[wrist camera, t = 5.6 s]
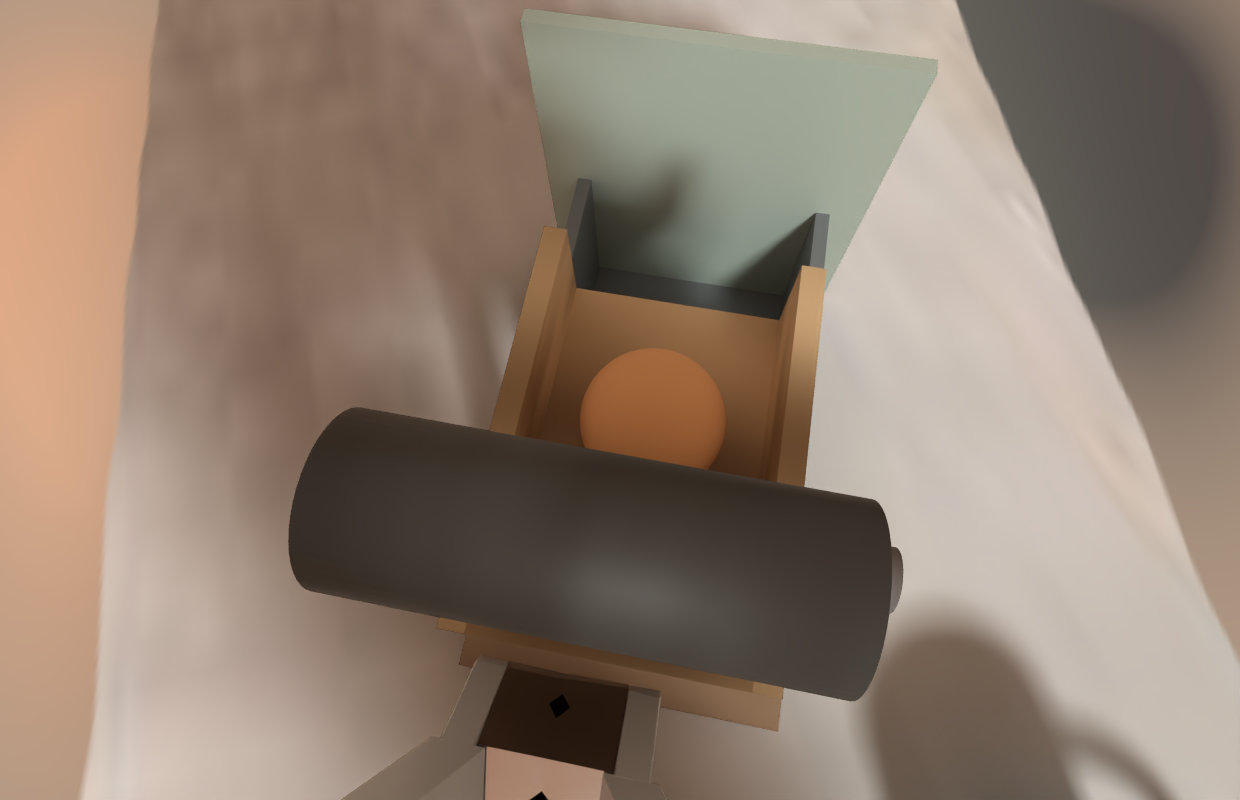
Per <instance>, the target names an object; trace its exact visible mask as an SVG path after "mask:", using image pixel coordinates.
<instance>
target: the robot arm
mask: <svg viewBox="0 0 1240 800" xmlns="http://www.w3.org/2000/svg"><path fill="white" fill-rule="evenodd" d="M628 691H629V693H628ZM627 697H628V699H627ZM626 704H627V705H626ZM660 704H661V692H660V691H658V690H653V689H648V688H642V687H637V686H632V685H630V688H629V685H628V684H623V683H617V682H612V681H607V680H601V679H596V678H591V677H585V676H580V675H575V674H566V673H561V672H557V671H552V670H548V669H544V668H539V667H535V666H530V665H526V664H522V663H517V662H513V661H506V660H502V659H497V658H493V657H488V656H484V655H480V657H479V658H478V659H477V660H476V661H475V663H474V665H473V667H472V669H471V672H470V674H469V676H468V678H467V680H466V683H465V685H464V687H463V689H462V691H461V694H460V696H459V698H458V700H457V702H456V705H455V707H454V709H453V711H452V713H451V716H450V718H449V720H448V722H447V724H446V727H445V729H444V731H443V733H442V735H441V738H437V737H430V738H428V739H427V740H426V741H424V742H423V743H421V744H420V745H418V746H417V747H416V748H414V749H413V750H411V751H410V752H408V753H407V754H406V755H404V756H403V757H401V758H400V759H398V760H397V761H396V762H394V763H393V764H391V765H390V766H388V767H387V768H386V769H384V770H383V771H381V772H380V773H378V774H377V775H376V776H374V777H373V778H371V779H370V780H368V781H367V782H366V783H364V784H363V785H361V786H360V787H358V788H357V789H356V790H354V791H353V792H351V793H350V794H348V795H347V796H346V797H344V798H343V799H341V800H668V799H667V797H666V795H665V793H664V791H663V789H662V787H661V785H658V784H654V783H651V780H652V772H653V763H654V755H655V746H656V738H657V730H658V721H659V713H660Z"/></svg>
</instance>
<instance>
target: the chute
mask: <svg viewBox="0 0 1240 800" xmlns="http://www.w3.org/2000/svg"><path fill="white" fill-rule="evenodd" d="M826 270H827V269H823V268H817V267H810V266H803V265H802V267H801V270H800V272H799V274H798V277H797V279H796V281H795V284H794V286H793V288H792V291H791V293H790V296H789V298H788V300H787V303H786V305H785V307H784V310H783V312H782V315H781V317H780V319H779V320H774V319H768V318H762V317H755V316H749V315H743V314H737V313H730V312H724V311H718V310H711V309H705V308H699V307H693V306H686V305H680V304H674V303H667V302H661V301H655V300H649V299H642V298H636V297H630V296H624V295H617V294H611V293H605V292H598V291H592V290H586V289H580V288H576V282H575V276H574V270H573V263H572V257H571V251H570V245H569V238H568V232H567V229H560V228H554V227H547V226H544V229H543V233H542V236H541V240H540V244H539V248H538V251H537V255H536V259H535V263H534V266H533V270H532V274H531V277H530V281H529V285H528V289H527V292H526V296H525V300H524V303H523V307H522V311H521V315H520V318H519V322H518V326H517V329H516V333H515V337H514V341H513V344H512V348H511V352H510V355H509V359H508V363H507V367H506V370H505V374H504V378H503V381H502V385H501V389H500V393H499V396H498V400H497V404H496V408H495V411H494V415H493V419H492V422H491V426H490V430H489V431H488V430H483V429H477V428H472V427H466V426H460V425H455V424H449V423H444V422H438V421H433V420H427V419H421V418H416V417H410V416H405V415H399V414H394V413H388V412H382V411H377V410H371V409H366V408H357V407H355V408H351V409H348V410H346V411H344V412H342V413H341V414H340V415H338V416H337V417H336V418H335V419H334V420H333V421H332V422H331V423H330V424H329V425H328V426H327V427H326V428H325V430H324V431H323V432H322V434H321V435H320V437H319V438H318V440H317V441H316V443H315V445H314V447H313V448H312V450H311V452H310V454H309V456H308V459H307V461H306V463H305V465H304V468H303V470H302V473H301V476H300V479H299V482H298V485H297V488H296V492H295V496H294V500H293V504H292V510H291V515H290V524H289V540H288V543H289V556H290V562H291V566H292V570H293V573H294V575H295V577H296V579H297V581H298V582H299V583H300V585H301V586H302V587H304V588H305V589H307V590H309V591H313V592H318V593H323V594H328V595H333V596H338V597H342V598H347V599H352V600H357V601H362V602H367V603H372V604H377V605H382V606H387V607H391V608H396V609H401V610H406V611H411V612H416V613H421V614H426V615H431V616H436V617H439V619H438V623H437V627H436V628H438V629H443V630H448V631H453V632H458V633H463V634H468V635H473V636H477V637H482V638H487V639H492V640H497V641H502V642H507V643H511V644H516V645H521V646H526V647H531V648H536V649H541V650H545V651H550V652H555V653H560V654H565V655H570V656H575V657H579V658H584V659H589V660H594V661H599V662H604V663H609V664H614V665H618V666H623V667H628V668H633V669H638V670H643V671H648V672H652V673H657V674H662V675H667V676H672V677H677V678H682V679H686V680H691V681H696V682H701V683H706V684H711V685H716V686H721V687H725V688H730V689H735V690H740V691H745V692H750V693H755V694H759V695H764V696H769V697H774V698H779V699H783V689H784V688H788V689H793V690H798V691H803V692H808V693H813V694H818V695H822V696H827V697H832V698H837V699H842V700H847V701H856V700H858V699H859V698H860V697H861V696H862V695H863V694H864V693H865V691H866V690H867V688H868V687H869V685H870V683H871V681H872V679H873V676H874V674H875V672H876V669H877V666H878V663H879V660H880V656H881V653H882V649H883V645H884V640H885V635H886V630H887V624H888V618H889V610H890V602H891V589H892V551H891V540H890V533H889V528H888V523H887V519H886V516H885V513H884V511H883V509H882V507H881V506H880V504H879V503H878V502H877V501H875V500H873V499H868V498H862V497H857V496H851V495H846V494H840V493H834V492H829V491H823V490H818V489H812V488H806V487H804V484H805V474H806V465H807V455H808V445H809V435H810V426H811V416H812V406H813V396H814V387H815V377H816V367H817V357H818V348H819V338H820V328H821V318H822V309H823V299H824V289H825V279H826ZM646 348H659V349H666V350H671V351H675V352H677V353H680V354H683V355H685V356H687V357H689V358H690V359H692V360H693V361H695V362H696V363H698V364H699V365H700V366H701V367H702V368H703V369H704V370H705V371H706V372H707V373H708V374H709V375H710V376H711V378H712V379H713V381H714V382H715V384H716V385H717V387H718V389H719V391H720V394H721V396H722V399H723V403H724V408H725V413H726V428H725V435H724V440H723V443H722V446H721V449H720V451H719V453H718V455H717V457H716V459H715V460H714V462H713V463H712V465H711V466H710V467H709V469H708V470H706V469H700V468H695V467H689V466H684V465H678V464H673V463H667V462H661V461H656V460H650V459H645V458H639V457H633V456H628V455H622V454H617V453H611V452H606V451H600V450H594V449H589V448H585V446H584V444H583V440H582V436H581V430H580V412H581V405H582V402H583V399H584V396H585V393H586V391H587V389H588V387H589V385H590V383H591V382H592V380H593V378H594V377H595V376H596V375H597V374H598V372H599V371H600V370H601V369H603V368H604V367H605V366H606V365H607V364H608V363H610V362H611V361H612V360H614V359H615V358H617V357H619V356H621V355H623V354H626V353H628V352H631V351H635V350H639V349H646Z"/></svg>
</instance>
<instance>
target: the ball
mask: <svg viewBox="0 0 1240 800" xmlns="http://www.w3.org/2000/svg"><path fill="white" fill-rule="evenodd" d="M725 428H726V413H725V408H724V403H723V399H722V396H721V394H720V391H719V389H718V387H717V385H716V384H715V382H714V381H713V379H712V378H711V376H710V375H709V374H708V373H707V372H706V371H705V370H704V369H703V368H702V367H701V366H700V365H699V364H698V363H696V362H695V361H693V360H692V359H690V358H689V357H687V356H685V355H683V354H680V353H677V352H675V351H671V350H666V349H659V348H646V349H639V350H635V351H631V352H628V353H626V354H623V355H621V356H619V357H617V358H615V359H614V360H612V361H611V362H610V363H608V364H607V365H606V366H605V367H604V368H603V369H601V370H600V371H599V372H598V374H597V375H596V376H595V377H594V378H593V380H592V382H591V383H590V385H589V387H588V389H587V391H586V393H585V396H584V399H583V402H582V405H581V412H580V430H581V436H582V440H583V444H584V446H585V448H589V449H594V450H600V451H606V452H611V453H617V454H622V455H628V456H633V457H639V458H645V459H650V460H656V461H661V462H667V463H673V464H678V465H684V466H689V467H695V468H700V469H706V470H708V469H709V467H710V466H711V465H712V463H713V462H714V460H715V459H716V457H717V455H718V453H719V451H720V449H721V446H722V443H723V440H724V435H725Z"/></svg>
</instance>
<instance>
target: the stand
mask: <svg viewBox="0 0 1240 800" xmlns="http://www.w3.org/2000/svg"><path fill="white" fill-rule="evenodd" d="M891 551H892V589H891V602H890V610H889V614H890V613H892V612H893V611H894V610H895V608H896V606H897V604H898V601H899V598H900V595H901V590H902V583H903V561H902V556H901V553H900V551H899V549H898V548H896V547H891ZM480 655H484V656H488V657H493V658H497V659H502V660H506V661H513V662H517V663H522V664H526V665H530V666H535V667H539V668H544V669H548V670H552V671H557V672H561V673H566V674H575V675H580V676H585V677H591V678H596V679H601V680H607V681H612V682H617V683H623V684H628V685H629V688H630V685H632V686H637V687H642V688H648V689H653V690H658V691H660V692H661V704H660V707H663V708H668V709H673V710H678V711H682V712H687V713H692V714H697V715H701V716H706V717H711V718H716V719H720V720H725V721H730V722H735V723H740V724H744V725H749V726H754V727H759V728H763V729H768V730H773V731H778V727H779V717H780V707H781V699H779V698H774V697H769V696H764V695H759V694H755V693H750V692H745V691H740V690H735V689H730V688H725V687H721V686H716V685H711V684H706V683H701V682H696V681H691V680H686V679H682V678H677V677H672V676H667V675H662V674H657V673H652V672H648V671H643V670H638V669H633V668H628V667H623V666H618V665H614V664H609V663H604V662H599V661H594V660H589V659H584V658H579V657H575V656H570V655H565V654H560V653H555V652H550V651H545V650H541V649H536V648H531V647H526V646H521V645H516V644H511V643H507V642H502V641H497V640H492V639H487V638H482V637H477V636H473V635H468V634H467V635H466V638H465V642H464V646H463V650H462V654H461V658H460V662H459V665H463V666H468V667H473V665H474V663H475V661H476V660H477V659H478V658H479V657H480ZM628 693H629V691H628ZM627 699H628V697H627Z"/></svg>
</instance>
